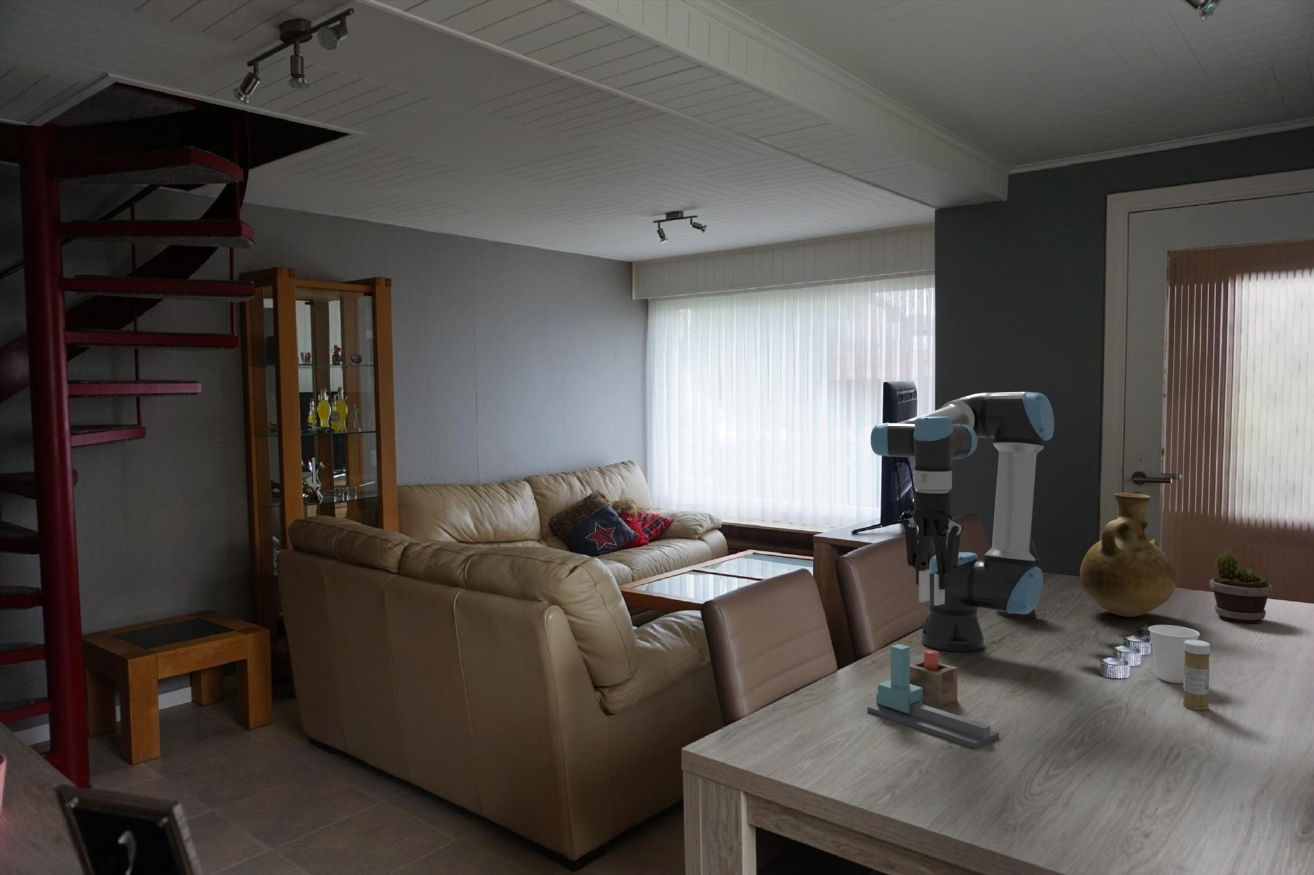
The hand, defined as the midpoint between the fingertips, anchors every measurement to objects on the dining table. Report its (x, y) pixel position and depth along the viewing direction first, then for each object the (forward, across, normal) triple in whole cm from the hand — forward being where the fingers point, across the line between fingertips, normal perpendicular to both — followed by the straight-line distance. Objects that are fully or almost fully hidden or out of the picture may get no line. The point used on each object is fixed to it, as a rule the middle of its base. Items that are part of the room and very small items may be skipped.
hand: (931, 602), depth 182 cm
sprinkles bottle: (+21, +37, +37) cm, 56 cm away
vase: (+21, -4, +101) cm, 103 cm away
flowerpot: (+21, +18, +121) cm, 124 cm away
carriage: (+19, +1, -12) cm, 22 cm away
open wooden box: (+21, 0, 0) cm, 21 cm away
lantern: (+21, -25, +79) cm, 85 cm away
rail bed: (+21, +8, -12) cm, 25 cm away
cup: (+21, +27, +52) cm, 62 cm away
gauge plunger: (+15, 0, 0) cm, 15 cm away
